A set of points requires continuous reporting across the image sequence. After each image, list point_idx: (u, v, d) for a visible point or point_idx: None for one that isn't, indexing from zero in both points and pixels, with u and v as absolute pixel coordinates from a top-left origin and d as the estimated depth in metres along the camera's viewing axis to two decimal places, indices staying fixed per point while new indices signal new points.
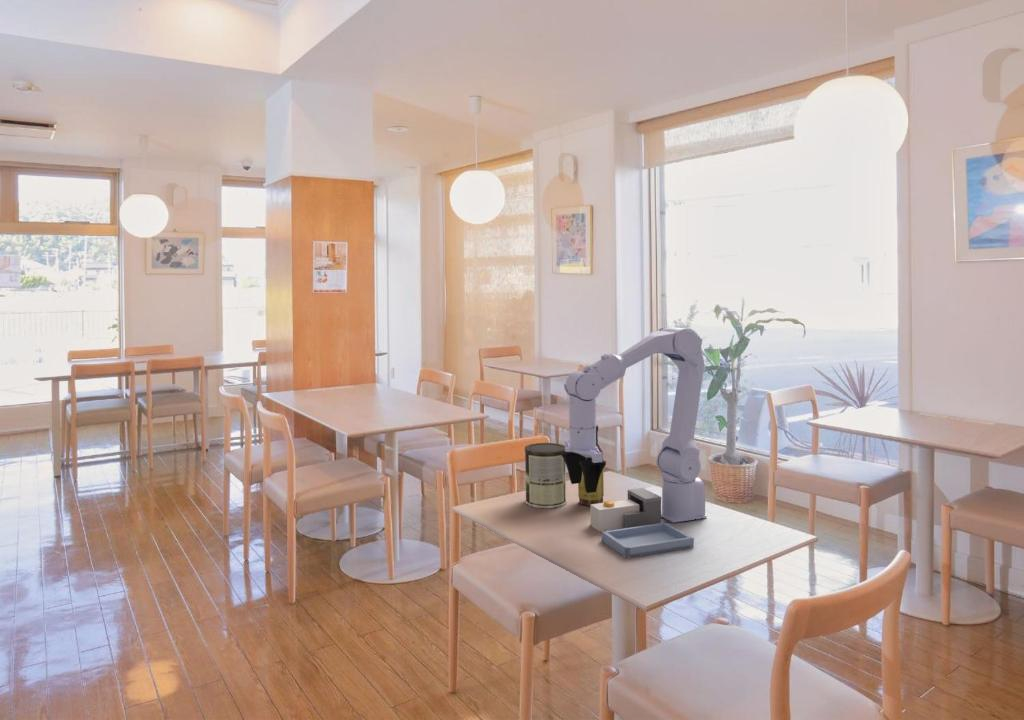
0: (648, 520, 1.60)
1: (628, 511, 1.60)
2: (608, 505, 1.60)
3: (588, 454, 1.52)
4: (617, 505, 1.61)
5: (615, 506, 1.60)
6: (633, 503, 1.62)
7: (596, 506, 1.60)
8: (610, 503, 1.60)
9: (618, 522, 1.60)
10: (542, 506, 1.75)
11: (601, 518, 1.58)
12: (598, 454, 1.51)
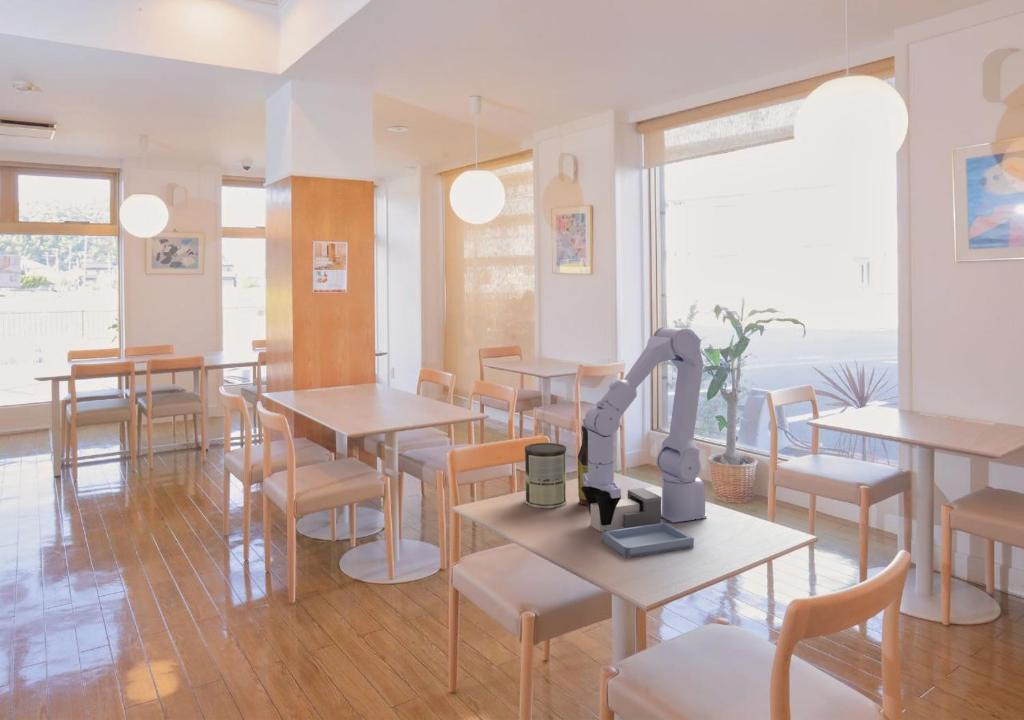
0: (648, 520, 1.60)
1: (628, 510, 1.61)
2: None
3: (607, 489, 1.54)
4: (617, 504, 1.61)
5: None
6: (633, 502, 1.62)
7: (596, 505, 1.60)
8: None
9: (618, 521, 1.60)
10: (542, 506, 1.75)
11: None
12: (617, 490, 1.53)
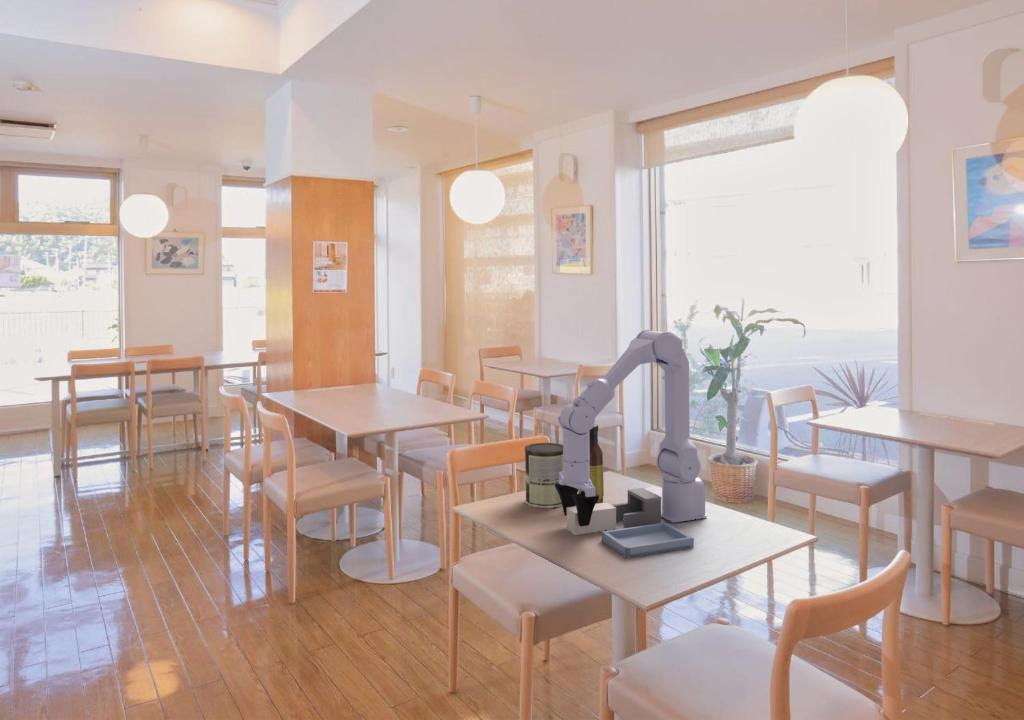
0: (648, 520, 1.60)
1: (604, 514, 1.58)
2: None
3: (581, 488, 1.52)
4: (594, 508, 1.59)
5: None
6: (610, 506, 1.60)
7: (572, 509, 1.58)
8: None
9: (594, 526, 1.58)
10: (542, 506, 1.75)
11: (576, 521, 1.56)
12: (591, 488, 1.51)
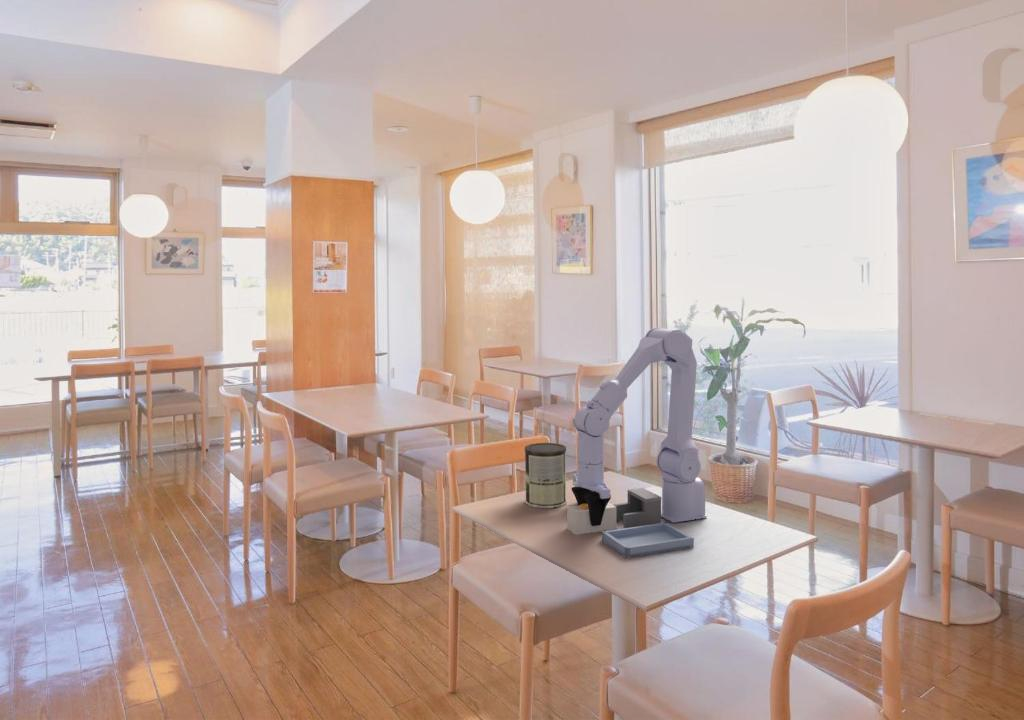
0: (648, 520, 1.60)
1: (604, 513, 1.58)
2: (584, 507, 1.58)
3: (596, 490, 1.54)
4: None
5: None
6: (610, 505, 1.60)
7: (572, 508, 1.58)
8: (586, 506, 1.58)
9: None
10: (542, 506, 1.75)
11: (577, 521, 1.56)
12: (606, 490, 1.52)
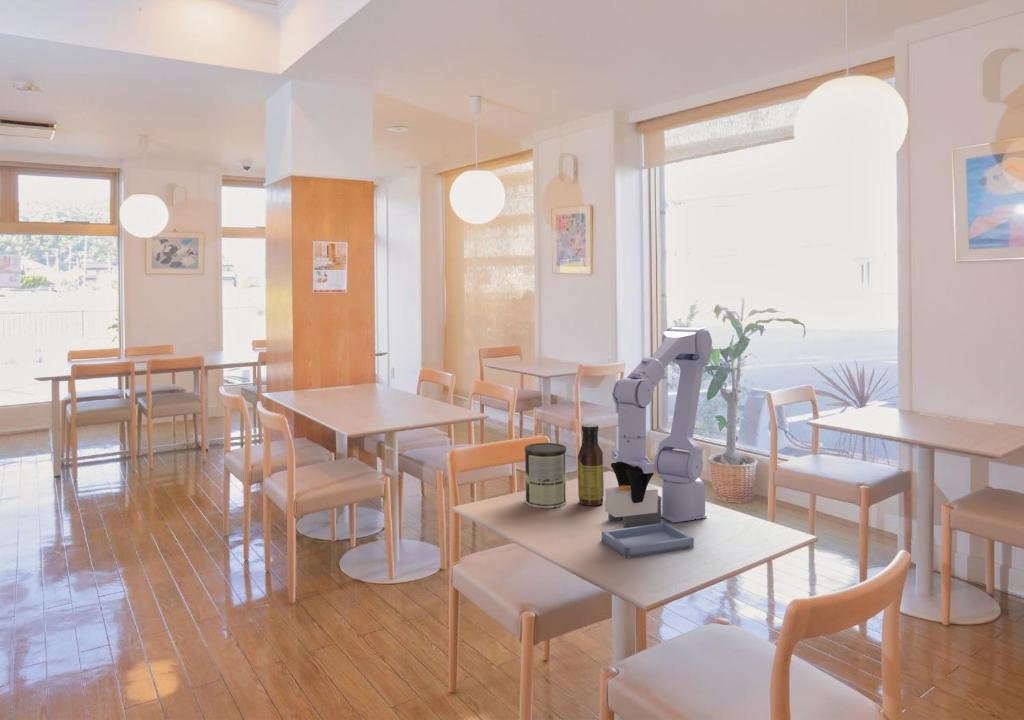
0: (648, 520, 1.60)
1: (645, 495, 1.50)
2: (625, 489, 1.50)
3: (639, 464, 1.46)
4: None
5: None
6: (651, 487, 1.52)
7: (612, 490, 1.50)
8: (626, 487, 1.50)
9: (634, 507, 1.50)
10: (542, 506, 1.75)
11: (617, 502, 1.48)
12: (650, 464, 1.44)
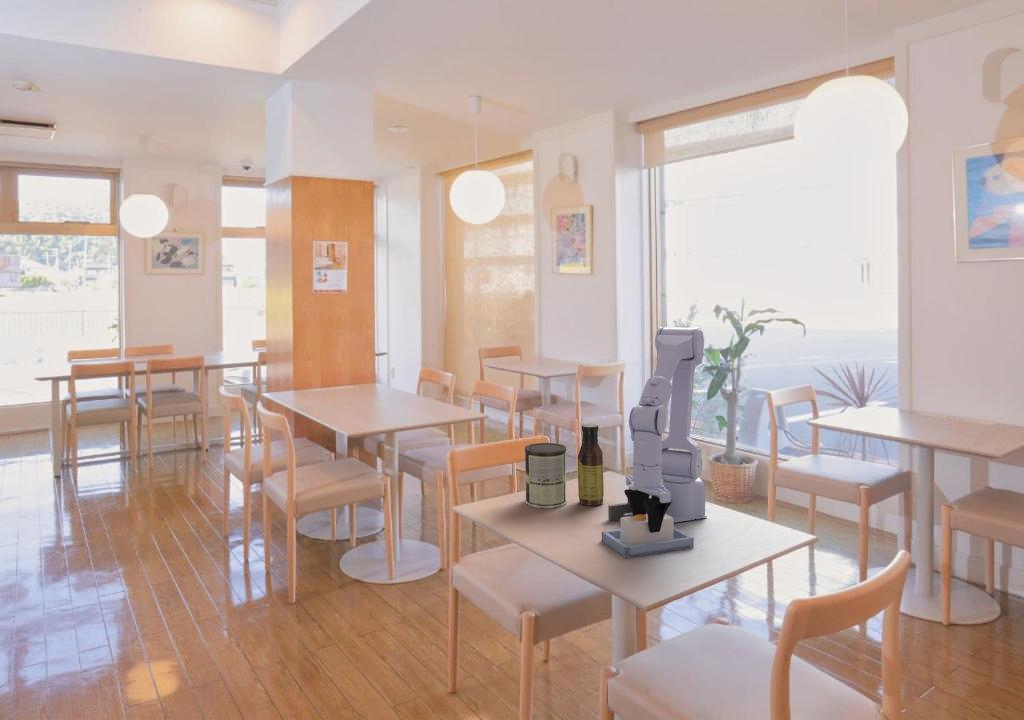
0: None
1: (661, 525, 1.48)
2: (640, 519, 1.48)
3: (655, 493, 1.43)
4: None
5: (647, 520, 1.48)
6: (666, 516, 1.50)
7: (627, 520, 1.48)
8: (642, 517, 1.48)
9: (650, 537, 1.48)
10: (542, 506, 1.75)
11: (632, 533, 1.46)
12: (666, 494, 1.42)
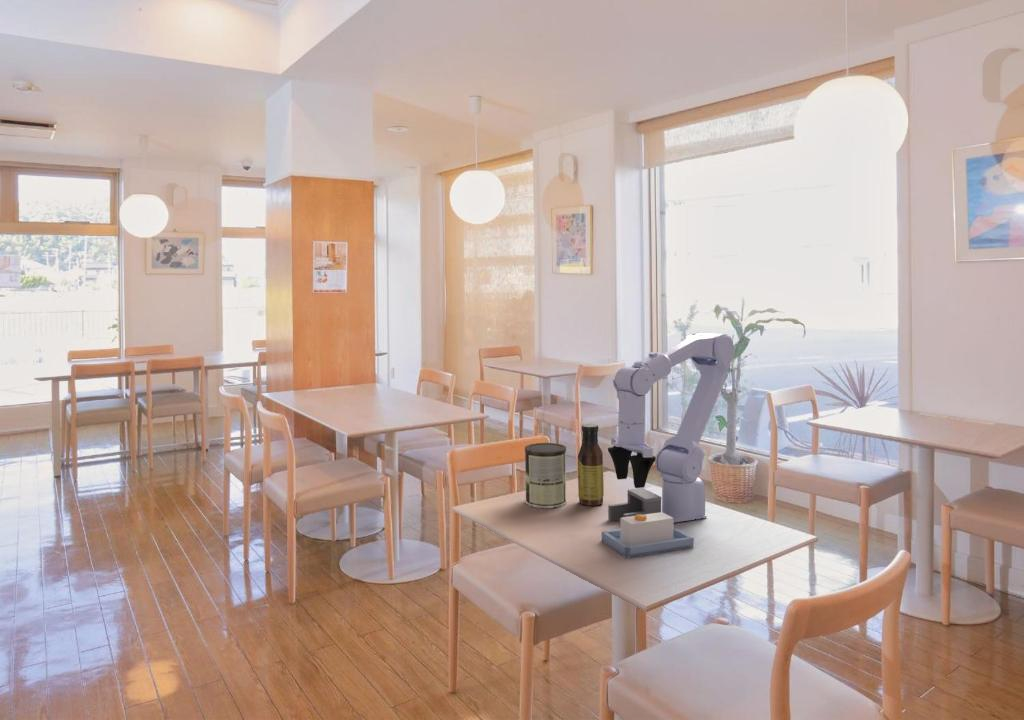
0: None
1: (661, 525, 1.48)
2: (640, 519, 1.48)
3: (638, 449, 1.52)
4: (649, 518, 1.49)
5: (647, 520, 1.48)
6: (666, 516, 1.50)
7: (627, 520, 1.48)
8: (642, 517, 1.48)
9: (650, 537, 1.48)
10: (542, 506, 1.75)
11: (632, 533, 1.46)
12: (649, 449, 1.51)
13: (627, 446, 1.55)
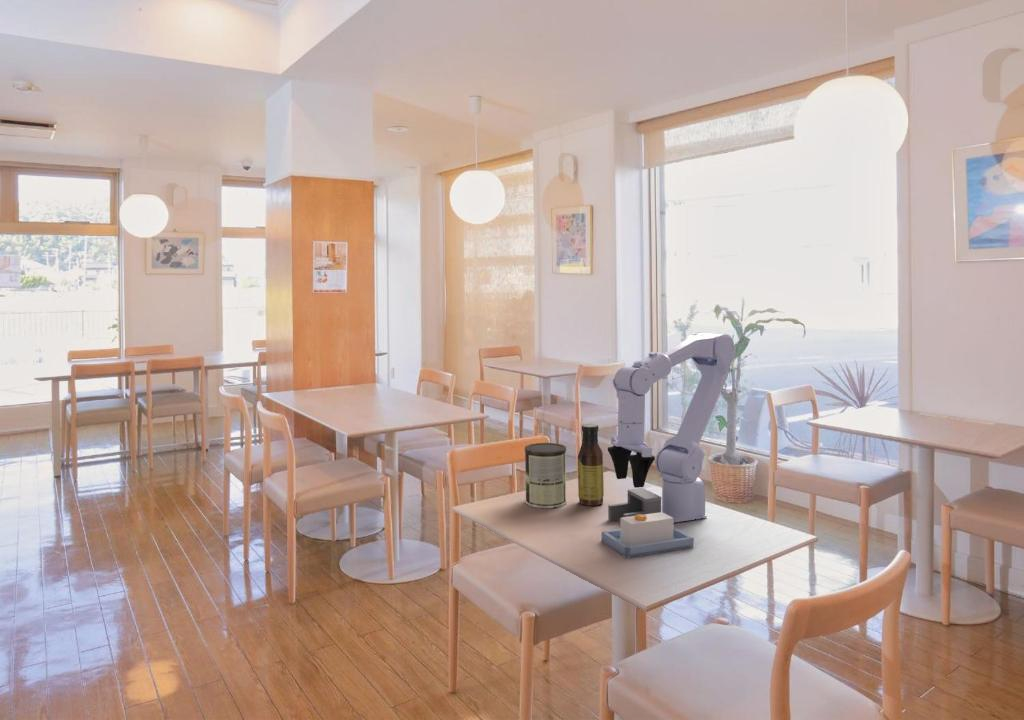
0: None
1: (661, 525, 1.48)
2: (640, 519, 1.48)
3: (637, 449, 1.53)
4: (649, 518, 1.49)
5: (647, 520, 1.48)
6: (666, 516, 1.50)
7: (627, 520, 1.48)
8: (642, 517, 1.48)
9: (650, 537, 1.48)
10: (542, 506, 1.75)
11: (632, 533, 1.46)
12: (648, 449, 1.51)
13: (626, 446, 1.55)
